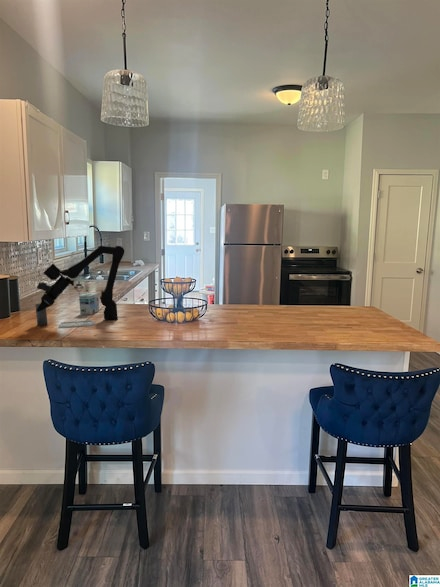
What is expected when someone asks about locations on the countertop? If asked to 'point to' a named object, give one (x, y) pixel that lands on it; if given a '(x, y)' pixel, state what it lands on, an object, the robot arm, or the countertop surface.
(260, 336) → the countertop surface
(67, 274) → the robot arm
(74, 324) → the label plate
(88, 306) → the light bulb box
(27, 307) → the countertop surface
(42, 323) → the post
